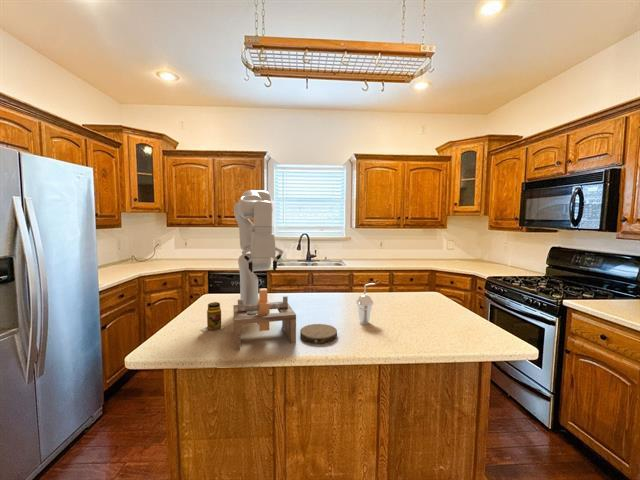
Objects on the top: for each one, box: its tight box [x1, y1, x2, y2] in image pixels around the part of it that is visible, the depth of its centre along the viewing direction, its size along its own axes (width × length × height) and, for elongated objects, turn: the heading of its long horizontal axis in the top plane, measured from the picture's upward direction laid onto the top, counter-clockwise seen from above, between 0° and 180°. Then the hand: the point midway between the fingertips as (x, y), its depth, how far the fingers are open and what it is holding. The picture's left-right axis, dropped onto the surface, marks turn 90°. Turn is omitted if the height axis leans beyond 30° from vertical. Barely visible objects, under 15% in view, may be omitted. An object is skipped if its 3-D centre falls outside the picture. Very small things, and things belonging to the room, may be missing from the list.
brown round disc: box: [299, 323, 338, 345], centre depth 129 cm, size 16×16×3 cm
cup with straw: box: [355, 282, 377, 325], centre depth 146 cm, size 8×9×20 cm
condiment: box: [200, 301, 225, 334], centre depth 136 cm, size 7×8×12 cm
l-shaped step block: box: [256, 287, 270, 332], centre depth 127 cm, size 8×4×16 cm, turn 18°
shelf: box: [232, 295, 297, 351], centre depth 127 cm, size 20×24×17 cm
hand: (262, 270), depth 126 cm, fingers open, 9 cm apart
